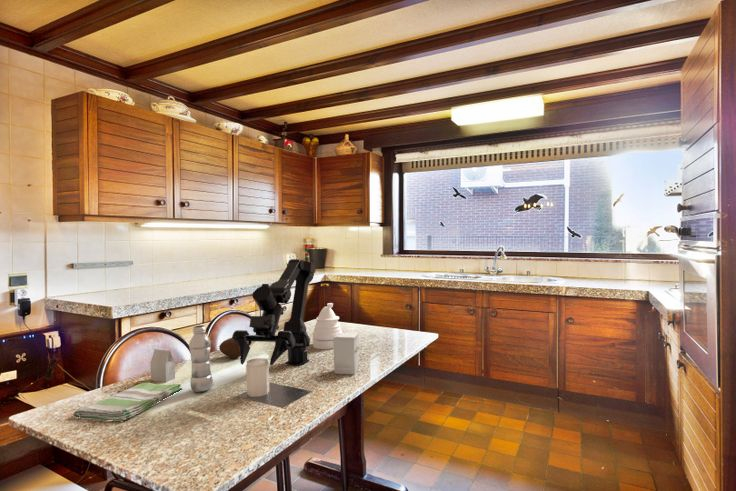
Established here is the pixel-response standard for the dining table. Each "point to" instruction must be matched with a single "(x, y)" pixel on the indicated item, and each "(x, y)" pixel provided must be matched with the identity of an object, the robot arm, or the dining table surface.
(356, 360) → the supplement box
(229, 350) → the potato
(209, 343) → the plastic bottle
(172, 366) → the grey gabled carton
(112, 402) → the dish towel
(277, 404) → the plate
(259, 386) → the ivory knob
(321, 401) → the dining table surface
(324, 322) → the honey pot
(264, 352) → the dining table surface
